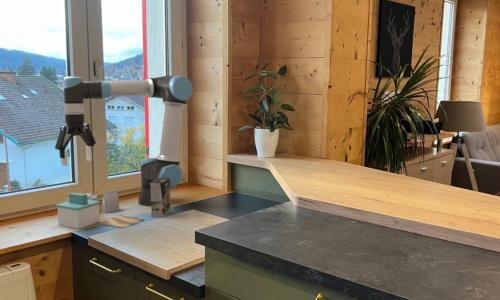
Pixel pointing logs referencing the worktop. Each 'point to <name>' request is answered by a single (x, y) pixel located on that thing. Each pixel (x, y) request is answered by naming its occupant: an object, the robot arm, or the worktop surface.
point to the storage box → (78, 217)
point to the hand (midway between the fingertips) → (77, 163)
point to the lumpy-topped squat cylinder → (90, 197)
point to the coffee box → (160, 197)
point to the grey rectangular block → (110, 201)
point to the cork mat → (121, 221)
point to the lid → (77, 202)
